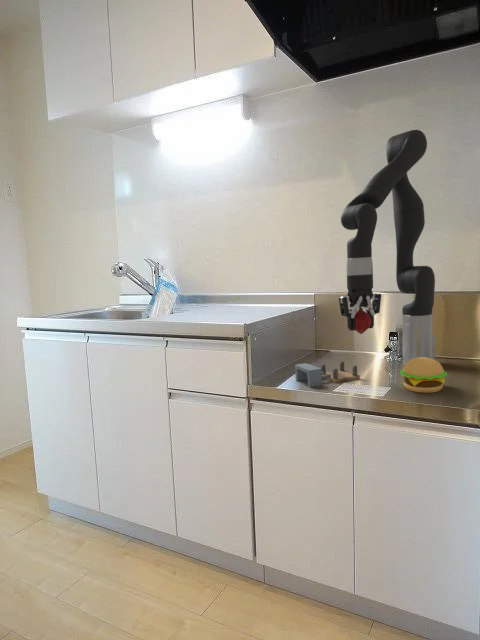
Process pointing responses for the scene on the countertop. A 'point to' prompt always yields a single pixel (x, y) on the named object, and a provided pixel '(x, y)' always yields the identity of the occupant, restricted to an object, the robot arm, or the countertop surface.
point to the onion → (362, 321)
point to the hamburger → (423, 375)
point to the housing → (308, 374)
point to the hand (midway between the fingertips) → (360, 329)
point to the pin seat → (339, 373)
